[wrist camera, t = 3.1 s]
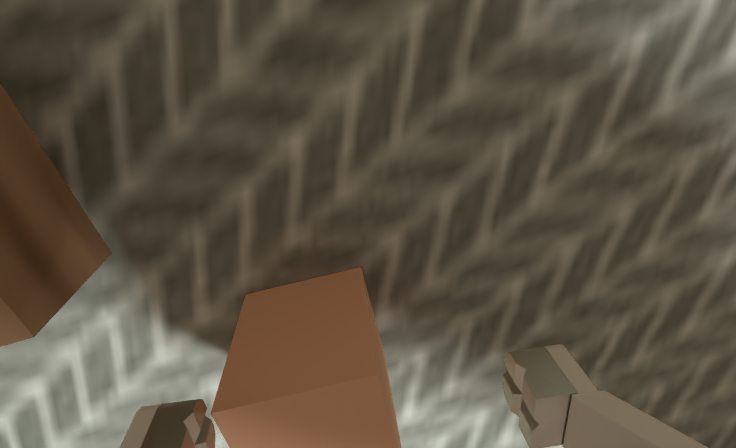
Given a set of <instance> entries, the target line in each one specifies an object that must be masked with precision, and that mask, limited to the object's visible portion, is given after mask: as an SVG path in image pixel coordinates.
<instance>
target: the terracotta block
mask: <svg viewBox="0 0 736 448" xmlns="http://www.w3.org/2000/svg"><path fill="white" fill-rule="evenodd" d="M211 415H212V417H213V419H214V420H215V422H216V424H217V426H218V427H219V429H220V431H221V433H222V434H223V436H224V438H225V440H226V441H227V443H228V445H229V447H230V448H401V443H400V437H399V432H398V426H397V421H396V415H395V410H394V404H393V399H392V393H391V388H390V382H389V377H388V371H387V366H386V360H385V355H384V351H383V347H382V343H381V339H380V336H379V332H378V328H377V324H376V321H375V317H374V313H373V309H372V305H371V302H370V298H369V294H368V290H367V287H366V283H365V279H364V275H363V272H362V268H361V267H359V268H355V269H350V270H346V271H342V272H338V273H334V274H329V275H325V276H321V277H317V278H312V279H308V280H304V281H300V282H296V283H291V284H287V285H283V286H279V287H275V288H270V289H266V290H262V291H258V292H254V293H249V294H246V295H245V299H244V302H243V305H242V309H241V312H240V316H239V319H238V323H237V326H236V329H235V333H234V336H233V340H232V343H231V346H230V350H229V353H228V357H227V360H226V363H225V367H224V370H223V374H222V377H221V380H220V384H219V387H218V391H217V394H216V397H215V401H214V404H213V408H212V411H211Z"/></svg>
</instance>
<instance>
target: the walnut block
mask: <svg viewBox="0 0 736 448" xmlns="http://www.w3.org/2000/svg"><path fill="white" fill-rule="evenodd" d="M111 254H112V253H111V252H110V250H109V248H108V247H107V245H106V244H105V242H104V241H103V239H102V238H101V236H100V235H99V233H98V232H97V230H96V229H95V227H94V225H93V224H92V222H91V221H90V219H89V218H88V216H87V215H86V213H85V212H84V210H83V209H82V207H81V206H80V204H79V203H78V201H77V199H76V198H75V196H74V195H73V193H72V192H71V190H70V189H69V187H68V186H67V184H66V183H65V181H64V180H63V178H62V176H61V175H60V173H59V172H58V170H57V169H56V167H55V166H54V164H53V163H52V161H51V160H50V158H49V157H48V155H47V154H46V152H45V150H44V149H43V147H42V146H41V144H40V143H39V141H38V140H37V138H36V137H35V135H34V134H33V132H32V131H31V129H30V128H29V126H28V124H27V123H26V121H25V120H24V118H23V117H22V115H21V114H20V112H19V111H18V109H17V108H16V106H15V105H14V103H13V101H12V100H11V98H10V97H9V95H8V94H7V92H6V91H5V89H4V88H3V86H2V85H1V83H0V347H1V346H4V345H8V344H11V343H15V342H18V341H22V340H25V339H29V338H32V337H35V336H36V334H37V333H38V332H39V331H40V330H41V329H42V328H43V327H44V326H45V325H46V324H47V323H48V322H49V320H50V319H51V318H52V317H53V316H54V315H55V314H56V313H57V312H58V311H59V310H60V309H61V307H62V306H63V305H64V304H65V303H66V302H67V301H68V300H69V299H70V298H71V297H72V296H73V295H74V293H75V292H76V291H77V290H78V289H79V288H80V287H81V286H82V285H83V284H84V283H85V282H86V281H87V279H88V278H89V277H90V276H91V275H92V274H93V273H94V272H95V271H96V270H97V269H98V268H99V266H100V265H101V264H102V263H103V262H104V261H105V260H106V259H107V258H108V257H109V256H110V255H111Z"/></svg>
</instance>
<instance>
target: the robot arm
mask: <svg viewBox="0 0 736 448" xmlns="http://www.w3.org/2000/svg"><path fill="white" fill-rule="evenodd" d="M504 364H505V366H506V368H507V371H506V373H505V374H504V375H503V388H504V394H505V397H506V400H507V403H508V405H509V407H510V409H511V411H512V412H513V413H515V414H516V415H518V416H519V428H520V430H521V432H522V434H523V436H524V438H525V440H526V442H527V444H528V446H529V448H542V447H550V446H557V445H563V447H564V448H708V447H706V446H705V445H703V444H701V443H699V442H697V441H695V440H694V439H692V438H690V437H688V436H686V435H685V434H683V433H681V432H679V431H677V430H676V429H674V428H672V427H670V426H668V425H666V424H665V423H663V422H661V421H659V420H657V419H656V418H654V417H652V416H650V415H648V414H646V413H645V412H643V411H641V410H639V409H637V408H636V407H634V406H632V405H630V404H628V403H626V402H625V401H623V400H621V399H619V398H617V397H616V396H614V395H612V394H610V393H608V392H607V391H605V390H600V391H598V390H597V388H596V387H595V386H594V384H593V383H592V382H591V381H590V379H589V378H588V377H587V375H586V374H585V373H584V371H583V370H582V369H581V367H580V366H579V365H578V363H577V362H576V361H575V360H574V358H573V357H572V356H571V354H570V353H569V352H568V350H567V349H566V348H565V346H563V345H561V344H557V345H551V346H544V347H537V348H531V349H525V350H519V351H513V352H507V353H506V354H505V357H504ZM206 409H207V407H206V405H205V403H204V401H203V400H202V399H197V400H189V401H181V402H172V403H164V404H159V405H151V406H143V407H141V408H140V409H139V410H138V411H137V412H136V414H135V416H134V419H133V421H132V423H131V425H130V427H129V429H128V431H127V433H126V435H125V437H124V440H123V442H122V444H121V446H120V448H215V430H214V425H213V423H212V420H211V419H209V418H207V417H206V416H205V413H206Z"/></svg>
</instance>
